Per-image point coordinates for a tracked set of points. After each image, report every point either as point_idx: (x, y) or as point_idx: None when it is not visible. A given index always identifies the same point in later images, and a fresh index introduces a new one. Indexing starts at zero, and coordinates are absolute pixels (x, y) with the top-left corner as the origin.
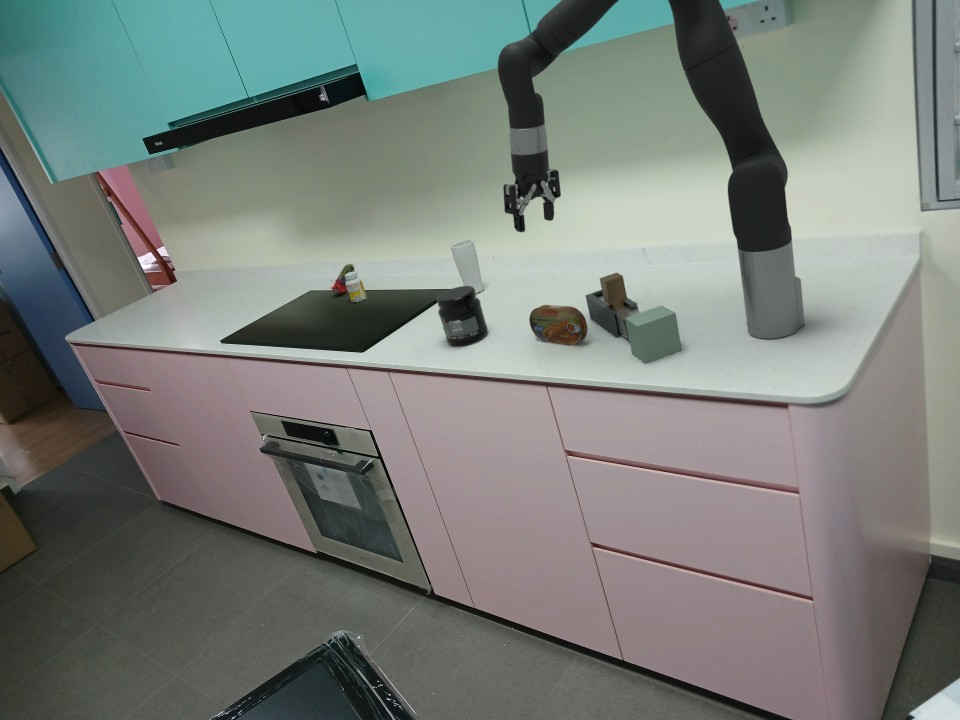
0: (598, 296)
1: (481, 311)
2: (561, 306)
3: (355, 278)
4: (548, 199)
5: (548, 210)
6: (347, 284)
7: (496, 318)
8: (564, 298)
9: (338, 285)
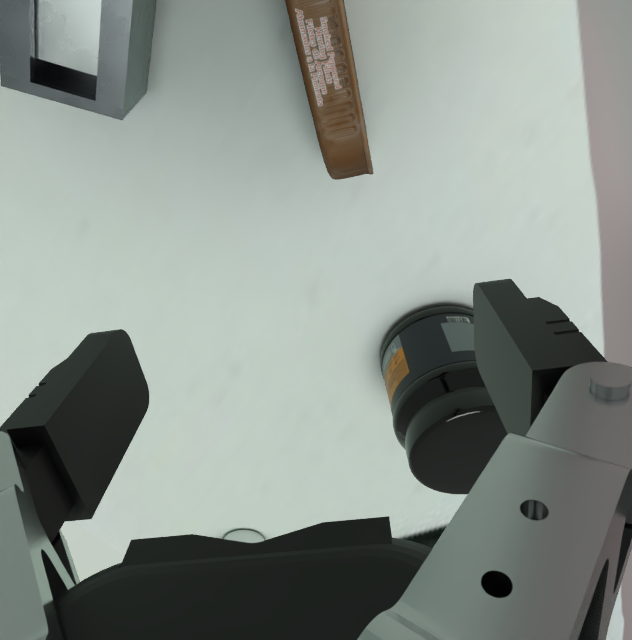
0: (74, 88)
1: (412, 366)
2: (305, 31)
3: None
4: (28, 485)
5: (94, 406)
6: None
7: (315, 382)
8: (115, 322)
9: None
